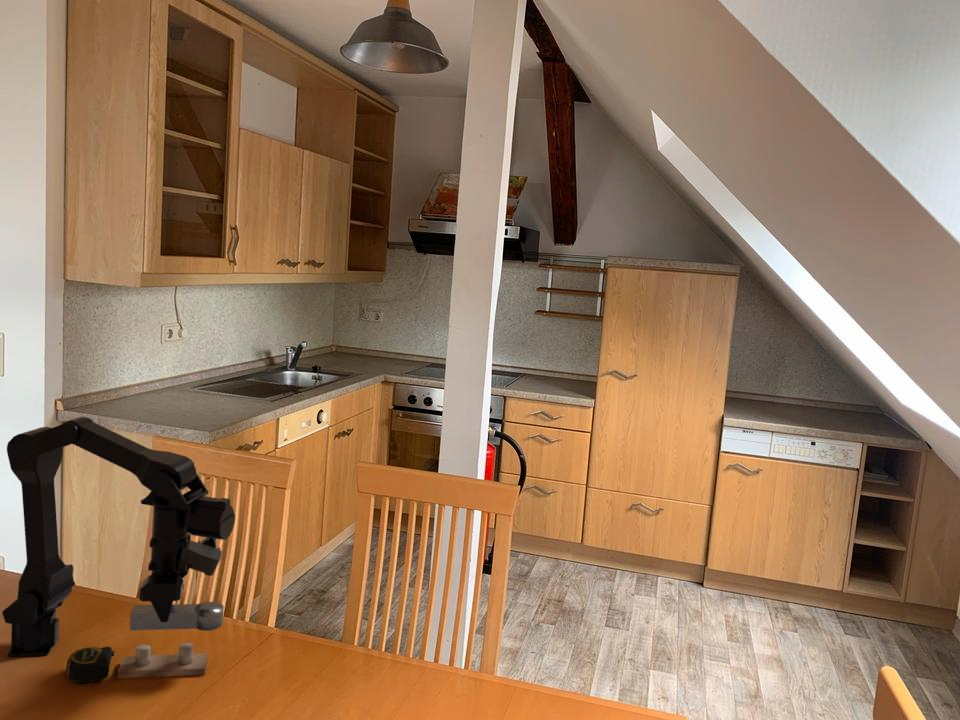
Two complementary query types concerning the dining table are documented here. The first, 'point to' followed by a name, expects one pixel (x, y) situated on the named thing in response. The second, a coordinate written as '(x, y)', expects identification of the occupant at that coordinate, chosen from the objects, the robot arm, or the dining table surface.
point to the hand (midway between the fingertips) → (165, 616)
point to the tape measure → (89, 664)
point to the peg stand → (163, 663)
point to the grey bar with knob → (178, 617)
